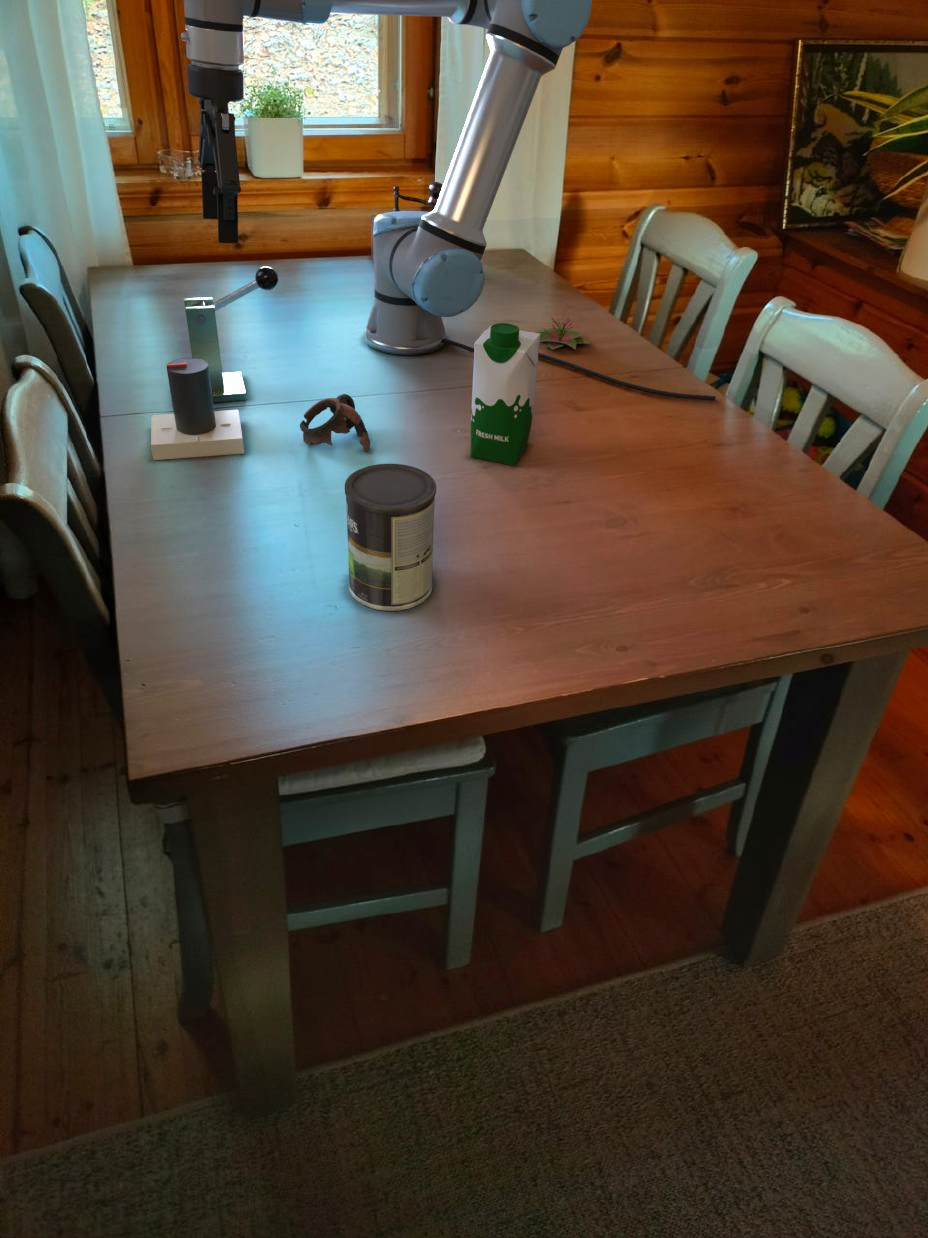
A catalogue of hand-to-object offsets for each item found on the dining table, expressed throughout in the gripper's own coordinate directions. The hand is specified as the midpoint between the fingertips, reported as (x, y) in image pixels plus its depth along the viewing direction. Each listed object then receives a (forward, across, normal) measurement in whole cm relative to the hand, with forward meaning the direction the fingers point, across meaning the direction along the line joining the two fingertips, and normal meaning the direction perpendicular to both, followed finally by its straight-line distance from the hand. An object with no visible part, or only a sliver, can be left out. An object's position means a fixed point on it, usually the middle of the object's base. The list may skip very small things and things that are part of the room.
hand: (220, 230), depth 136 cm
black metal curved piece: (+21, -63, +53) cm, 85 cm away
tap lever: (+12, -3, +3) cm, 13 cm away
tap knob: (+24, +15, -7) cm, 29 cm away
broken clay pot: (+26, +21, +14) cm, 36 cm away
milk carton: (+24, +31, +36) cm, 53 cm away
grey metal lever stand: (+26, -3, -2) cm, 27 cm away
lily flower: (+21, -8, +66) cm, 69 cm away
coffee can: (+26, +59, +10) cm, 66 cm away
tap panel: (+27, +14, -6) cm, 31 cm away
